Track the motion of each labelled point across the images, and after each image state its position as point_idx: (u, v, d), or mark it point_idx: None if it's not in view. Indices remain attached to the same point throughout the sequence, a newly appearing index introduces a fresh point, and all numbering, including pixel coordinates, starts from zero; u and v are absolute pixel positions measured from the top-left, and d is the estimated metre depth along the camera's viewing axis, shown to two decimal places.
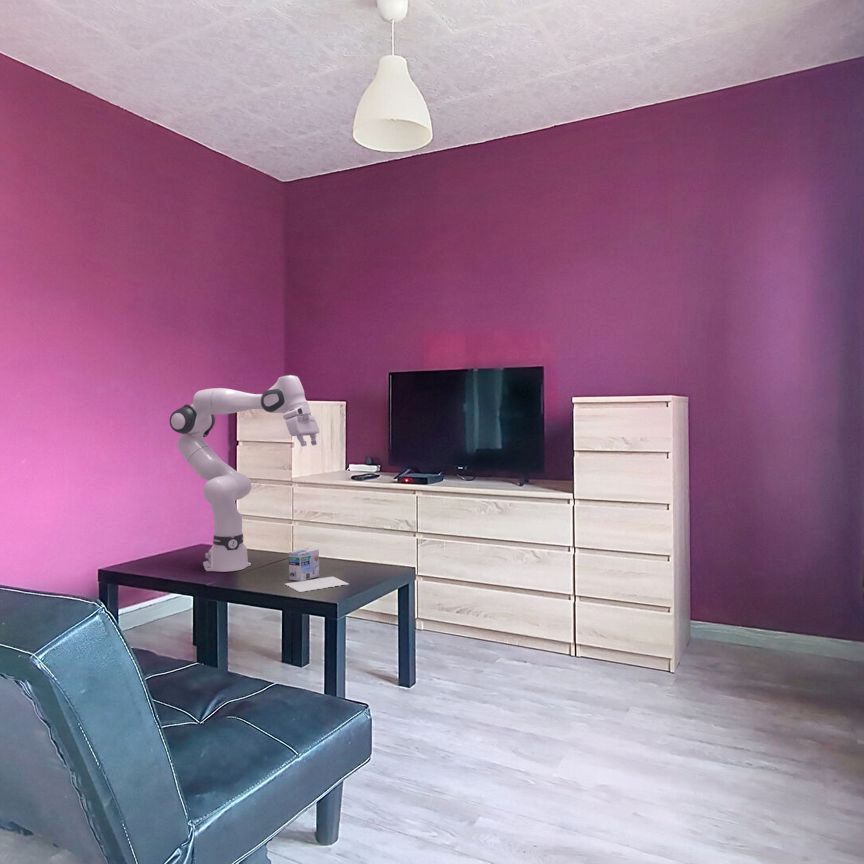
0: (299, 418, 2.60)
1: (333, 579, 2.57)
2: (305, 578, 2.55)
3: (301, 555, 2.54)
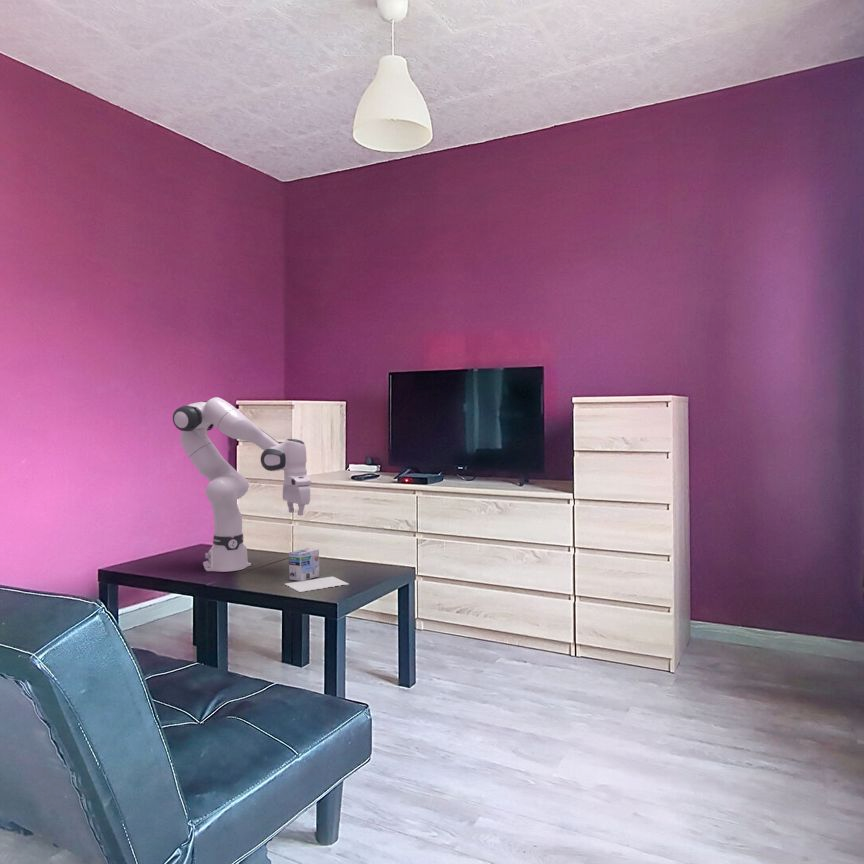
0: None
1: (333, 579, 2.57)
2: (305, 578, 2.55)
3: (301, 555, 2.54)
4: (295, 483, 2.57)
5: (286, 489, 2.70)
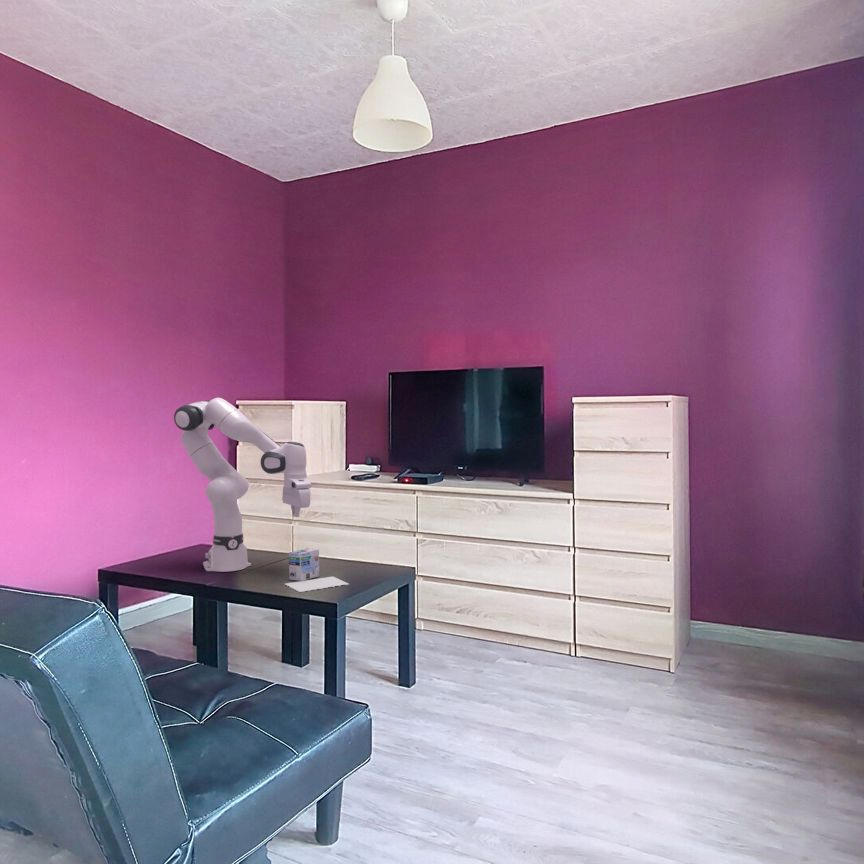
0: None
1: (333, 579, 2.57)
2: (305, 578, 2.55)
3: (301, 555, 2.54)
4: (295, 486, 2.58)
5: (286, 492, 2.70)
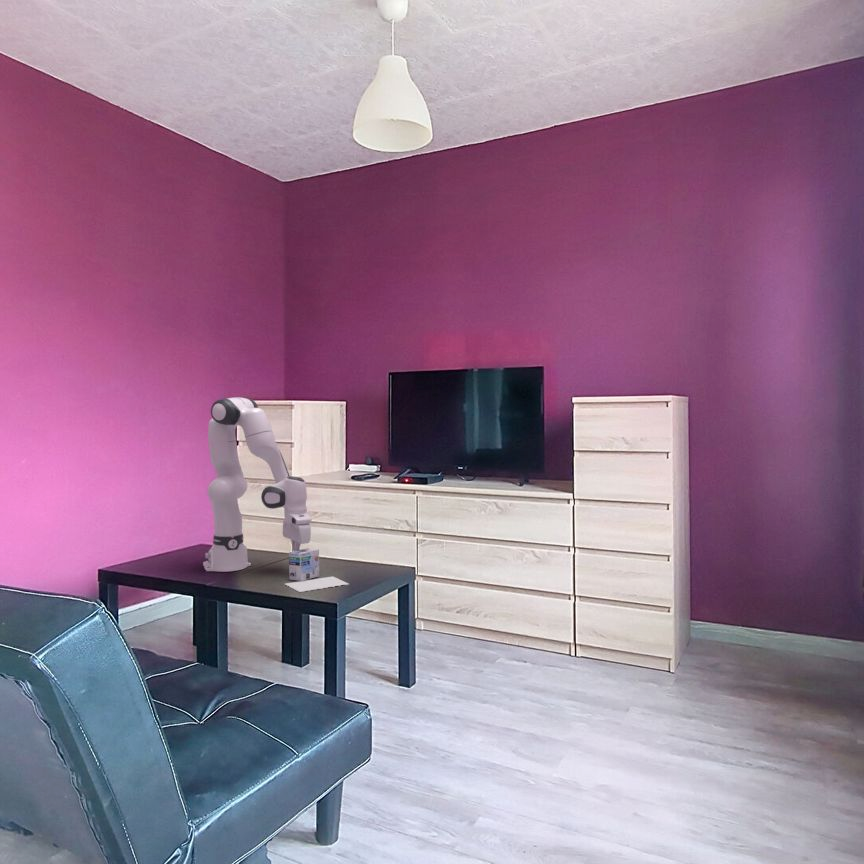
0: None
1: (333, 579, 2.57)
2: (305, 578, 2.55)
3: (301, 555, 2.54)
4: (295, 522, 2.58)
5: (286, 526, 2.70)
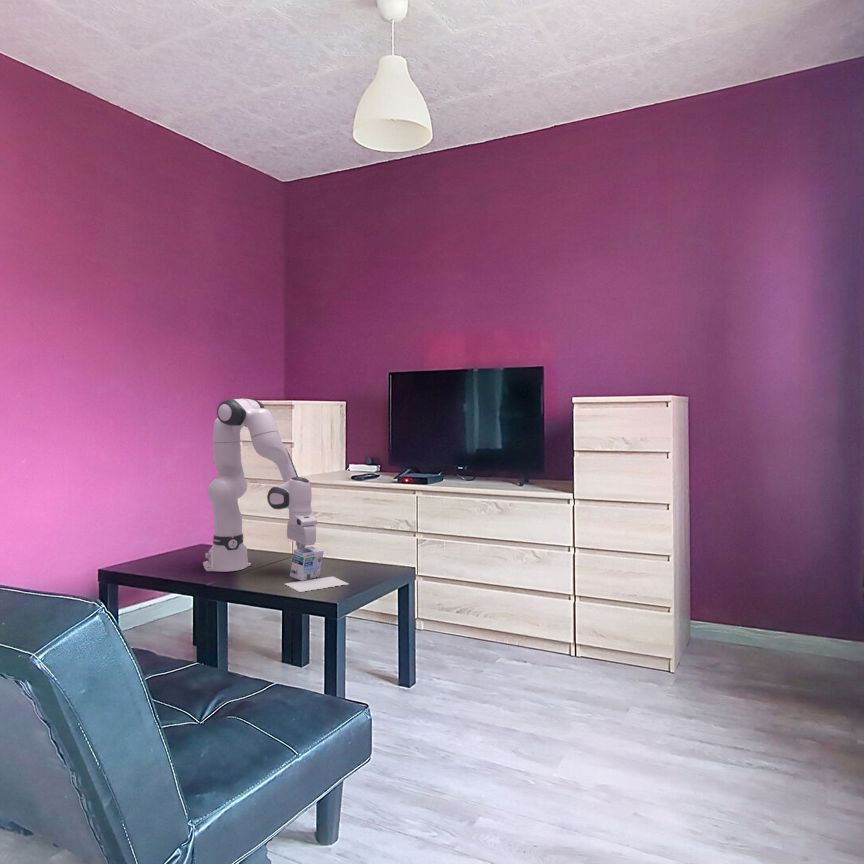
0: None
1: (333, 579, 2.57)
2: (305, 578, 2.55)
3: (306, 556, 2.53)
4: (301, 523, 2.54)
5: (291, 527, 2.67)
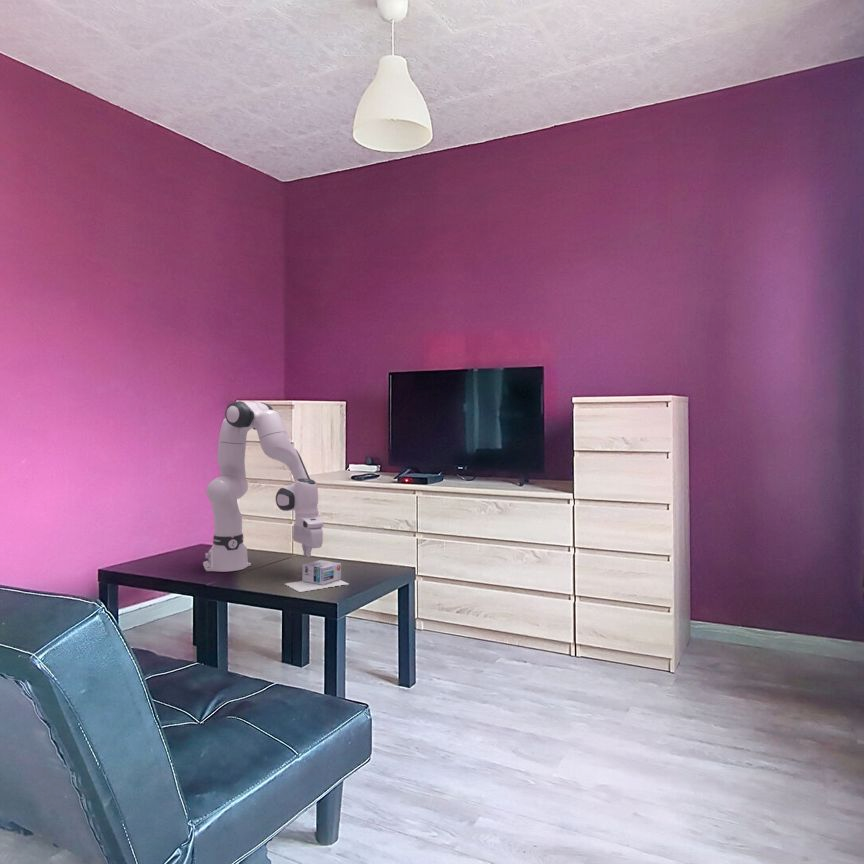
0: None
1: None
2: None
3: None
4: (307, 526, 2.49)
5: (297, 530, 2.61)
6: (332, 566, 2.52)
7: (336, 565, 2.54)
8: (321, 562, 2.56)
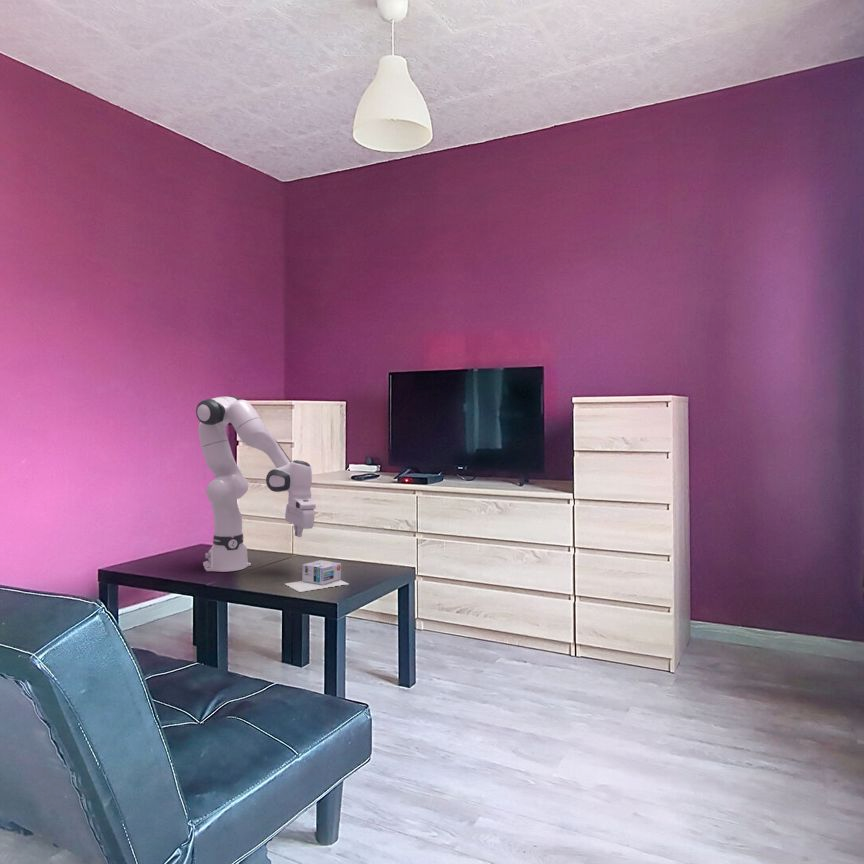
0: None
1: None
2: None
3: None
4: (300, 506, 2.55)
5: (289, 510, 2.67)
6: (332, 566, 2.52)
7: (336, 565, 2.54)
8: (321, 562, 2.56)
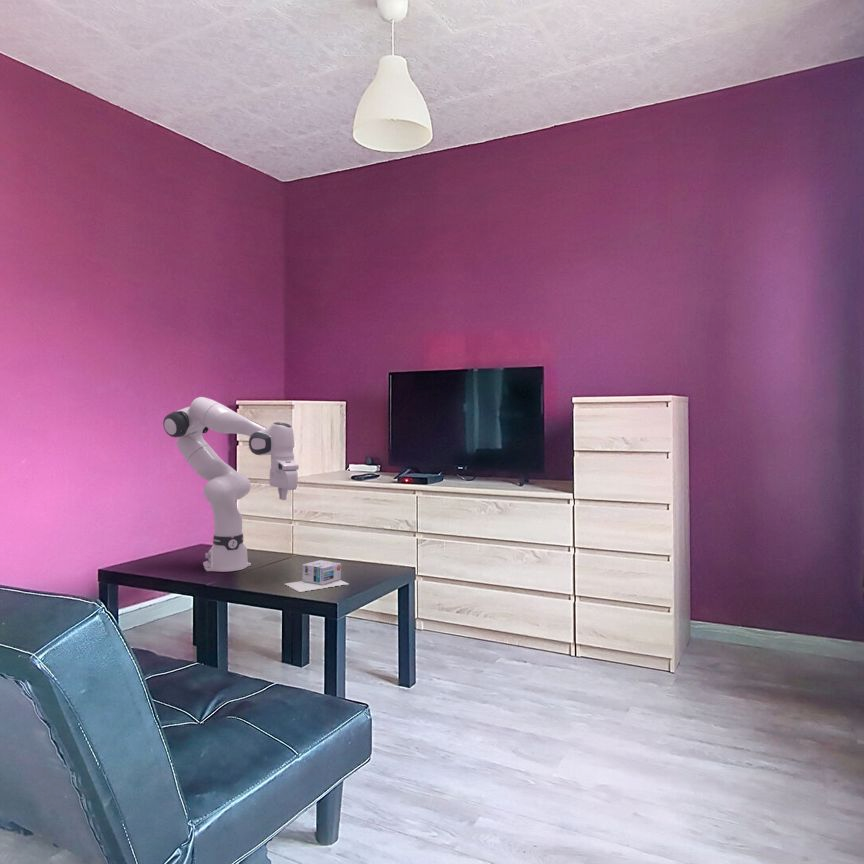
0: None
1: None
2: None
3: None
4: (282, 467, 2.50)
5: (273, 474, 2.62)
6: (332, 566, 2.52)
7: (336, 565, 2.54)
8: (321, 562, 2.56)
